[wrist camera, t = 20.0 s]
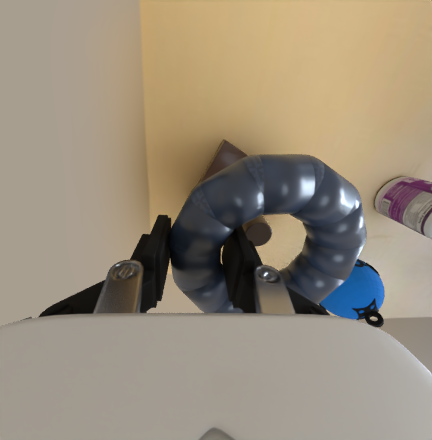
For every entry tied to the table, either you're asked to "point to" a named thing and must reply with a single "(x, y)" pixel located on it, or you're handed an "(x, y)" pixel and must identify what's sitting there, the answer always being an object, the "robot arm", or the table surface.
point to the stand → (223, 158)
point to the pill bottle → (407, 203)
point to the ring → (267, 205)
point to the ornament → (358, 295)
